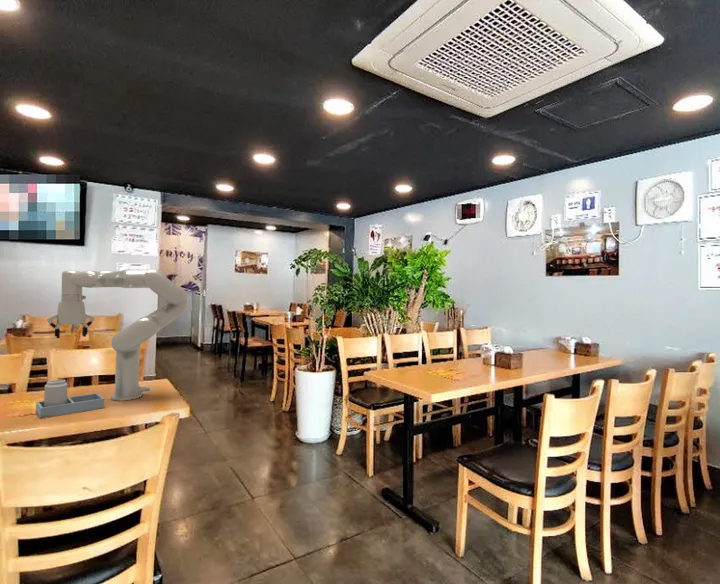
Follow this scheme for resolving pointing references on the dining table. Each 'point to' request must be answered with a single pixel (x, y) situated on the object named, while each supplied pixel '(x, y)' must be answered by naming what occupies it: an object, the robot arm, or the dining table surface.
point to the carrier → (71, 405)
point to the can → (55, 393)
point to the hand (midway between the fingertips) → (71, 337)
